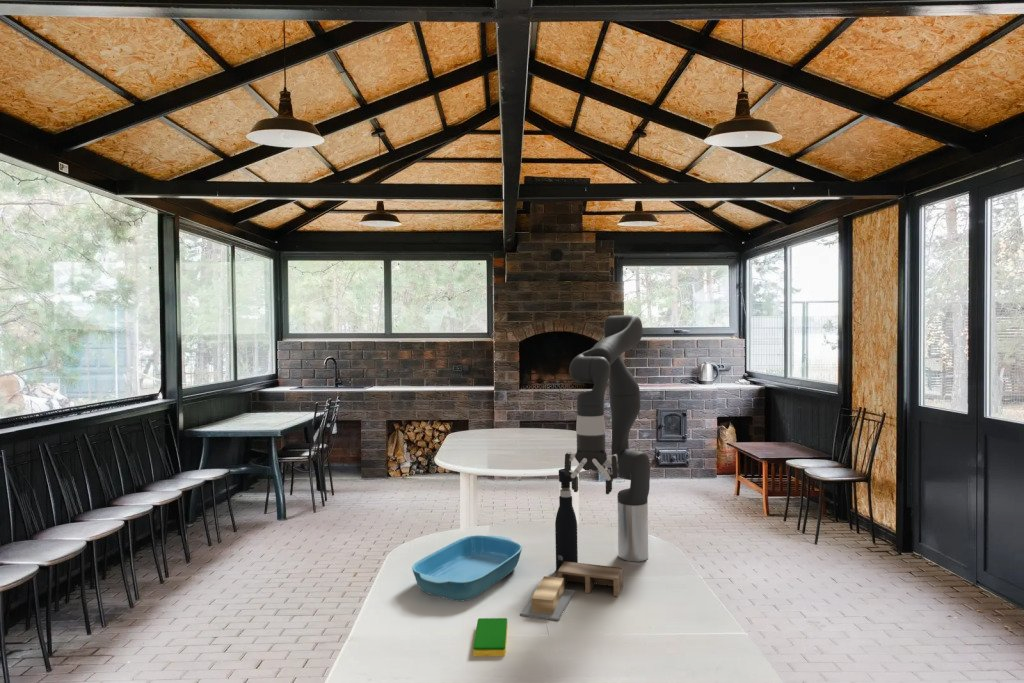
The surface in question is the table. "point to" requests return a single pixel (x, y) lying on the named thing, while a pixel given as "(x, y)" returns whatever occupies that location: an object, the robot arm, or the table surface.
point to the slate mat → (557, 613)
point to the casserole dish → (467, 566)
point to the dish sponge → (490, 637)
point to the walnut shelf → (592, 575)
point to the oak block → (548, 595)
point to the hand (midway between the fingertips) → (591, 492)
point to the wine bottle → (565, 525)
